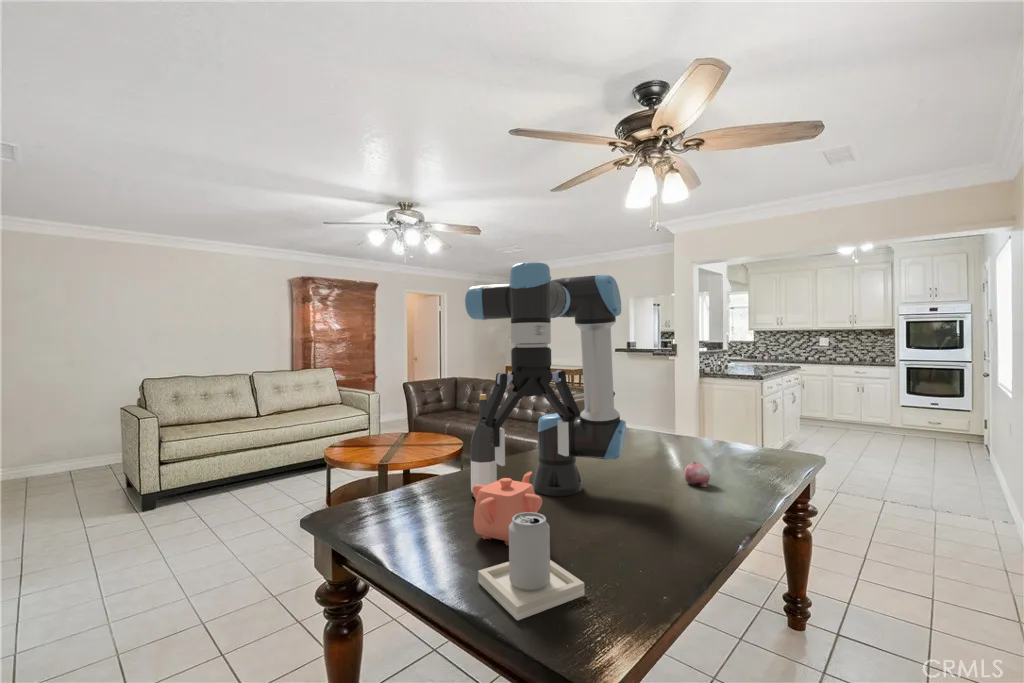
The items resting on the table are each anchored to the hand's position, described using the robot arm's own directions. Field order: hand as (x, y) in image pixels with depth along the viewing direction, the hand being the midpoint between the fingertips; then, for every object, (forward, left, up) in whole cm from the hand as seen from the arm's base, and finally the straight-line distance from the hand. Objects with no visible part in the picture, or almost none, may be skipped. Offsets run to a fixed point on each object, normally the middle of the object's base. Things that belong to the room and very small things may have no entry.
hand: (532, 459), depth 85 cm
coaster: (+1, -2, -23) cm, 23 cm away
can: (+1, -2, -22) cm, 22 cm away
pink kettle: (-22, +7, -23) cm, 33 cm away
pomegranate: (-22, +76, -23) cm, 82 cm away
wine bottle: (-50, +15, -23) cm, 57 cm away
